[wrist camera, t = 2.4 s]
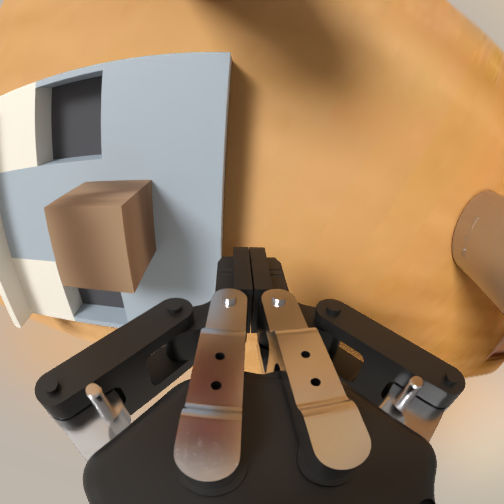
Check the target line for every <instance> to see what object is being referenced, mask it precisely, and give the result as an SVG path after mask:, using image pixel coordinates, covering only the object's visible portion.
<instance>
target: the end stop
mask: <svg viewBox="0 0 504 504" xmlns="http://www.w3.org/2000/svg"><path fill="white" fill-rule="evenodd" d="M0 294H1V297H2V299H3V301H4V304H5V306H6V308H7V310H8V312H9V314H10V316H11V319H12V321H13V323H14V325H15V326H16V327H19V328H22V326H23V325H24V324H25V322H26V321H27V319H28V318H29V317H30V315H31V314H32V310H31V308H30V306H29V303H28V301H27V299H26V296H25V294H24V291H23V288H22V286H21V283H20V280H19V278H18V275H17V272H16V269H15V266H14V263H13V260H12V257H11V253H10V250H9V246H8V243H7V239H6V236H5V232H4V228H3V223H2V219H1V215H0Z"/></svg>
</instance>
